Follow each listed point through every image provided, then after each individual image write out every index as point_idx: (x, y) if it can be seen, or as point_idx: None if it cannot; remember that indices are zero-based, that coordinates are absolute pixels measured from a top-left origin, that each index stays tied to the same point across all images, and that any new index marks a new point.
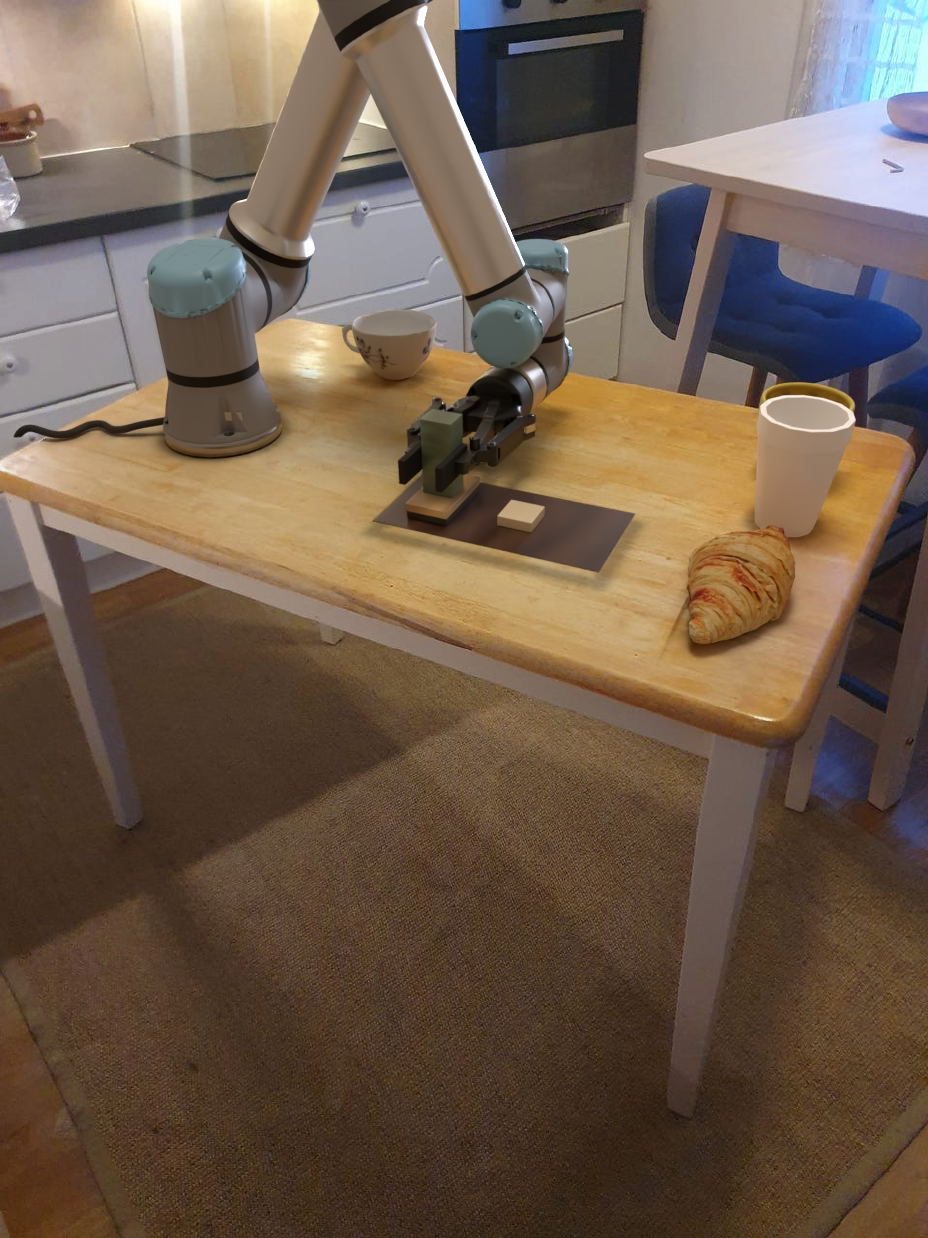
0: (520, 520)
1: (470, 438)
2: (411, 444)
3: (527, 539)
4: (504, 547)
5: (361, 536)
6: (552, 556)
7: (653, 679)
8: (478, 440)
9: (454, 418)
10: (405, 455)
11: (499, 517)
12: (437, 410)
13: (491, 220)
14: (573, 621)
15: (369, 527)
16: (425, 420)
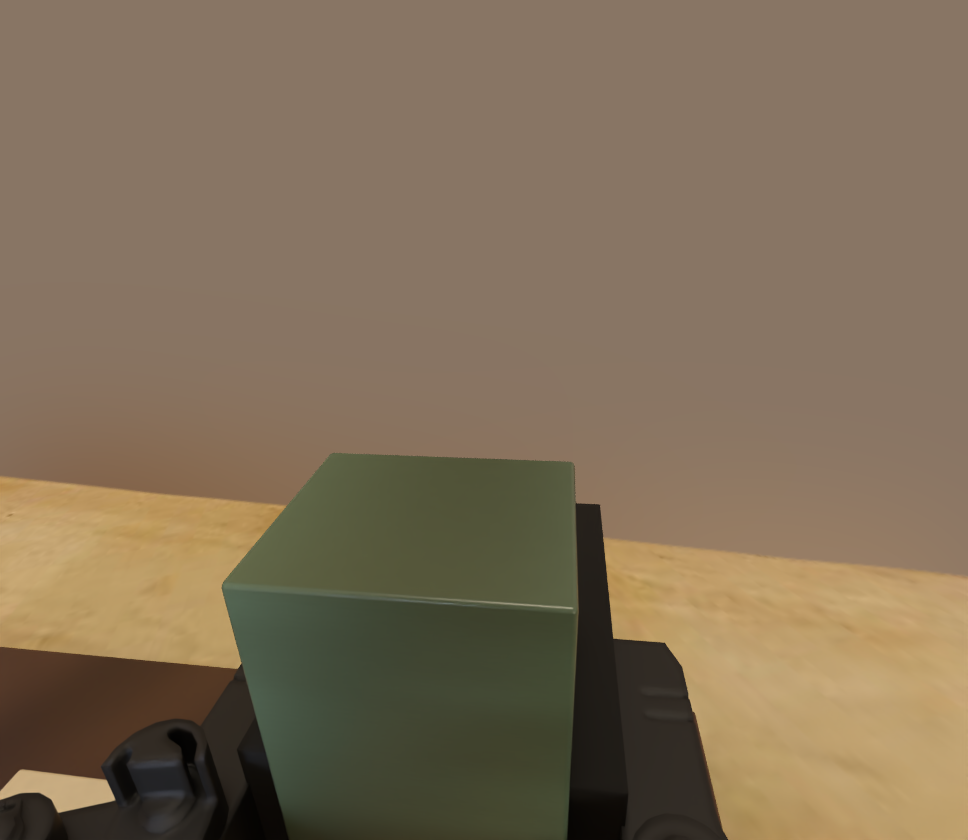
0: (65, 776)
1: (198, 730)
2: (694, 739)
3: (77, 746)
4: (184, 680)
5: (706, 716)
6: (29, 673)
7: (16, 486)
8: (128, 752)
9: (304, 511)
10: (594, 540)
11: None
12: (501, 585)
13: None
14: (89, 553)
15: (729, 781)
16: (528, 463)
